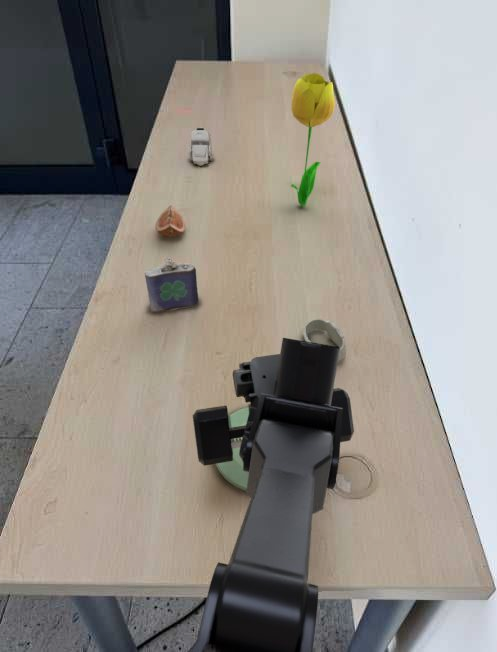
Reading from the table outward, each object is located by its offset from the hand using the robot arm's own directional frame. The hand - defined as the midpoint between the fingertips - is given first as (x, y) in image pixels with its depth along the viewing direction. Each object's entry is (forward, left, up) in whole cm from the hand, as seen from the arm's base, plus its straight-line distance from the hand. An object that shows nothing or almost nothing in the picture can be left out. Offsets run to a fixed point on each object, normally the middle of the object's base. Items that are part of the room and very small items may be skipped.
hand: (261, 414), depth 66 cm
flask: (+30, +18, -9) cm, 36 cm away
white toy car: (+90, +21, -9) cm, 93 cm away
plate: (0, 0, -8) cm, 8 cm away
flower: (+68, -7, -9) cm, 69 cm away
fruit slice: (+54, +23, -9) cm, 59 cm away
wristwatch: (+21, -10, -9) cm, 25 cm away
